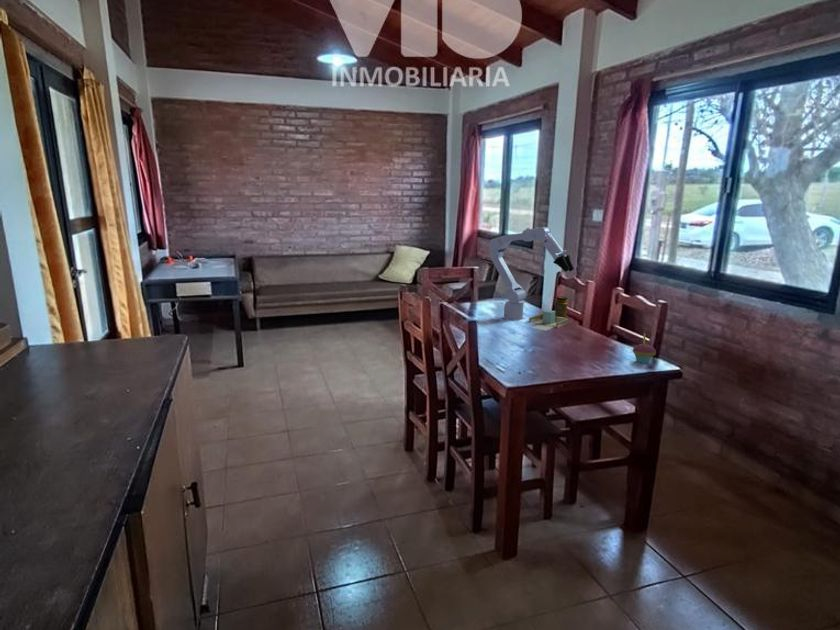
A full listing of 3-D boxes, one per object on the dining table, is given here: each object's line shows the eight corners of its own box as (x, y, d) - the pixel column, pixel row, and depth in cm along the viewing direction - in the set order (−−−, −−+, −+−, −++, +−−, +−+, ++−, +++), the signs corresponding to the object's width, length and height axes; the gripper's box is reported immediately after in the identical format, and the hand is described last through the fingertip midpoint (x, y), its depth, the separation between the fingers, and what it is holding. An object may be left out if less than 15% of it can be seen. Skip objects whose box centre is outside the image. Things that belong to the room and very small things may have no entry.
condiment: (569, 319, 270) (571, 297, 267) (560, 322, 264) (562, 299, 261) (557, 317, 275) (558, 295, 272) (548, 319, 269) (549, 297, 266)
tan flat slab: (529, 323, 262) (529, 317, 261) (540, 318, 271) (540, 313, 270) (558, 328, 252) (558, 323, 251) (568, 324, 261) (569, 318, 260)
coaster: (530, 328, 251) (530, 327, 251) (538, 325, 257) (538, 324, 257) (545, 331, 246) (545, 330, 246) (553, 328, 252) (553, 327, 252)
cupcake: (628, 358, 210) (631, 329, 207) (649, 358, 210) (653, 330, 207) (636, 365, 202) (639, 335, 199) (658, 365, 202) (662, 336, 199)
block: (542, 322, 260) (543, 311, 259) (546, 321, 264) (547, 309, 262) (550, 324, 258) (551, 312, 256) (554, 322, 261) (555, 311, 259)
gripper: (555, 242, 240) (572, 265, 237) (564, 243, 252) (580, 265, 249) (543, 251, 244) (560, 274, 240) (552, 252, 256) (569, 273, 253)
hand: (569, 270), depth 245 cm, fingers open, 7 cm apart
